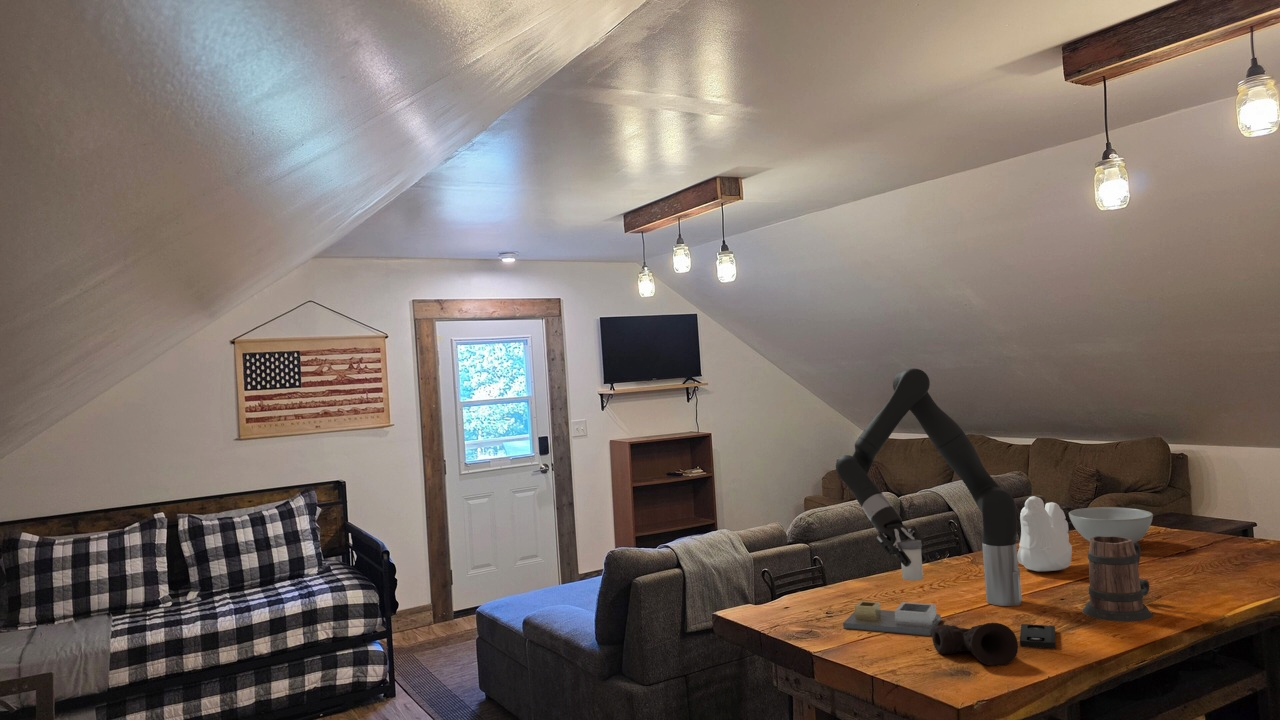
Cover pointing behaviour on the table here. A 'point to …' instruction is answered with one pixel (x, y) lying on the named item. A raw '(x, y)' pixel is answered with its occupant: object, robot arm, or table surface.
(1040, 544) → the white figurine
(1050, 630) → the vhs tape
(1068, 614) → the table surface
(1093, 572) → the tankard
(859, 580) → the table surface
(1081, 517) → the decorative bowl
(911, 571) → the grey and white cylinder
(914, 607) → the plate
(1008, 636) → the pipe
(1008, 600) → the robot arm
